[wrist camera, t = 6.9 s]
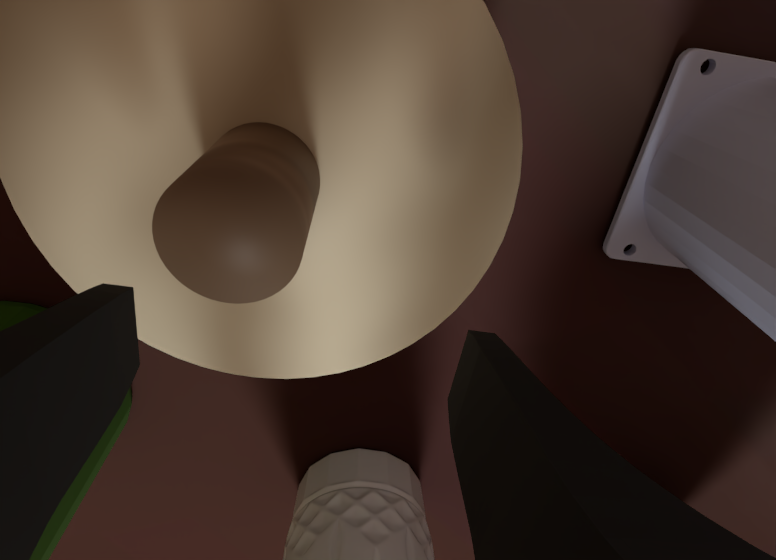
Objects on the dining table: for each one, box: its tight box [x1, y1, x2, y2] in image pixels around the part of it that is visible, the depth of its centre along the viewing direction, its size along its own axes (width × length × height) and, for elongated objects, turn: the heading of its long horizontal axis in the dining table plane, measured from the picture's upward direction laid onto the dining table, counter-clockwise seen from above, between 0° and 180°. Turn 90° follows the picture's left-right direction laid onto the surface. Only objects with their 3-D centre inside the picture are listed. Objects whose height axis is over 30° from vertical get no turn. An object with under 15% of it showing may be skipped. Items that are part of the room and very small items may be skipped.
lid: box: [0, 0, 523, 379], centre depth 12 cm, size 14×14×5 cm
